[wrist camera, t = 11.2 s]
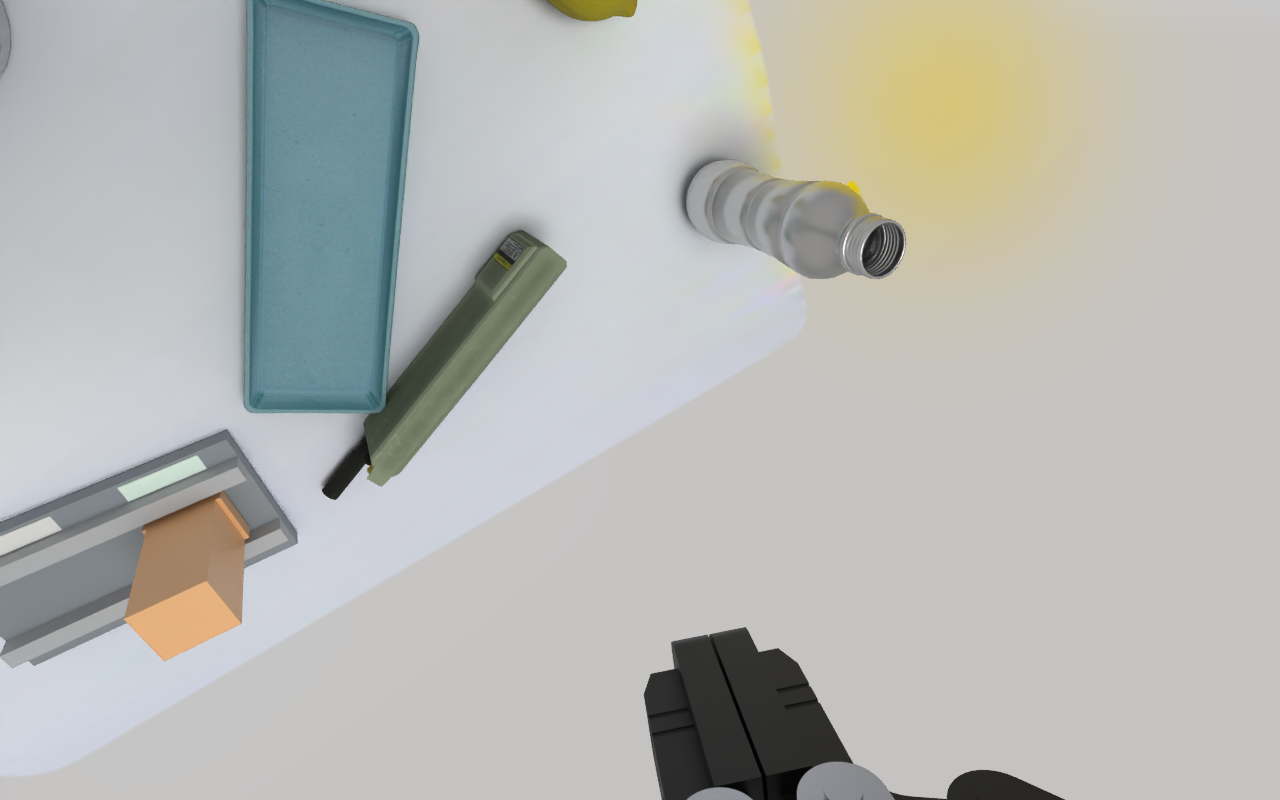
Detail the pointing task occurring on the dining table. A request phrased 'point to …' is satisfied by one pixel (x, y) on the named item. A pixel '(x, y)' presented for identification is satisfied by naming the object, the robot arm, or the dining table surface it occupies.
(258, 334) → the rectangular tray
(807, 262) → the plastic bottle
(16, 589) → the grey slotted base
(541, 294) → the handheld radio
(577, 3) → the lemon
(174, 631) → the switch tab
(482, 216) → the dining table surface
